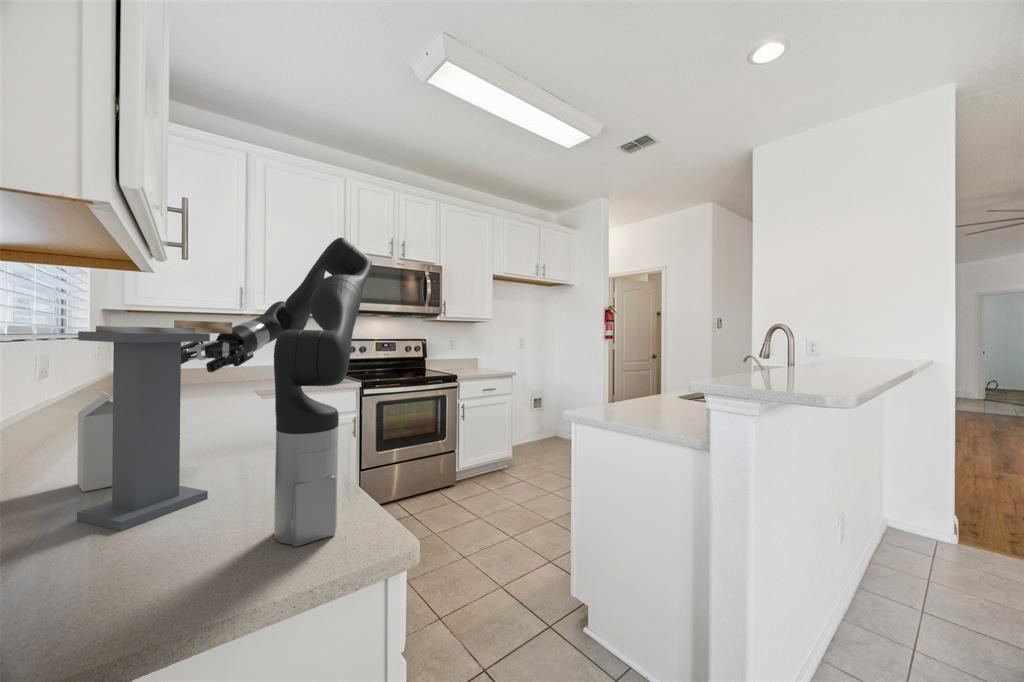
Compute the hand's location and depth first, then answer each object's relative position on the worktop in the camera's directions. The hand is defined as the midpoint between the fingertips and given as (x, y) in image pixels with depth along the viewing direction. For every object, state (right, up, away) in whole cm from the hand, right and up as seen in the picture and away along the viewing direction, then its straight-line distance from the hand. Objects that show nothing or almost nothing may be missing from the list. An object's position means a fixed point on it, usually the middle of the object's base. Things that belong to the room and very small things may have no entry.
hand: (189, 365), depth 88 cm
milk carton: (-16, -25, -2) cm, 30 cm away
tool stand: (+2, -25, -13) cm, 29 cm away
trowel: (+5, +7, -9) cm, 12 cm away
